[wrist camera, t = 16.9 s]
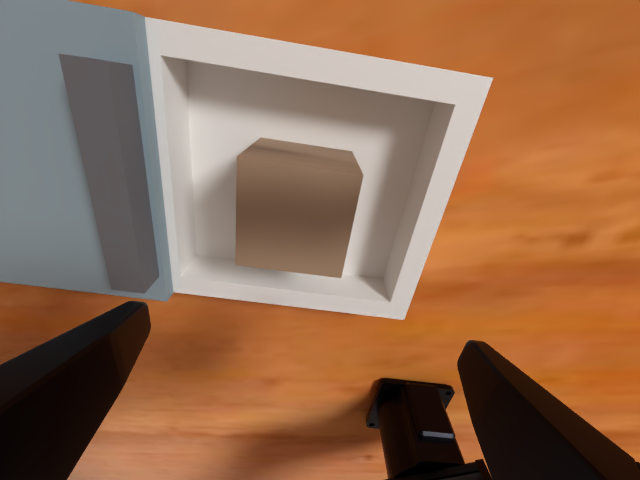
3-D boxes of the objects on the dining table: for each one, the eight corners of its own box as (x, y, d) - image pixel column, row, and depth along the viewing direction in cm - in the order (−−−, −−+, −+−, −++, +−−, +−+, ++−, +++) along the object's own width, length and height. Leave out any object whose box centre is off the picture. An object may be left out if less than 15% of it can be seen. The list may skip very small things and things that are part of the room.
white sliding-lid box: (393, 290, 21) (404, 319, 18) (-35, 236, 19) (-92, 260, 17) (462, 79, 15) (493, 77, 12) (-157, -28, 13) (-279, -58, 10)
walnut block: (336, 232, 18) (341, 278, 14) (256, 221, 18) (235, 265, 14) (352, 151, 16) (363, 174, 12) (260, 137, 16) (236, 156, 11)
